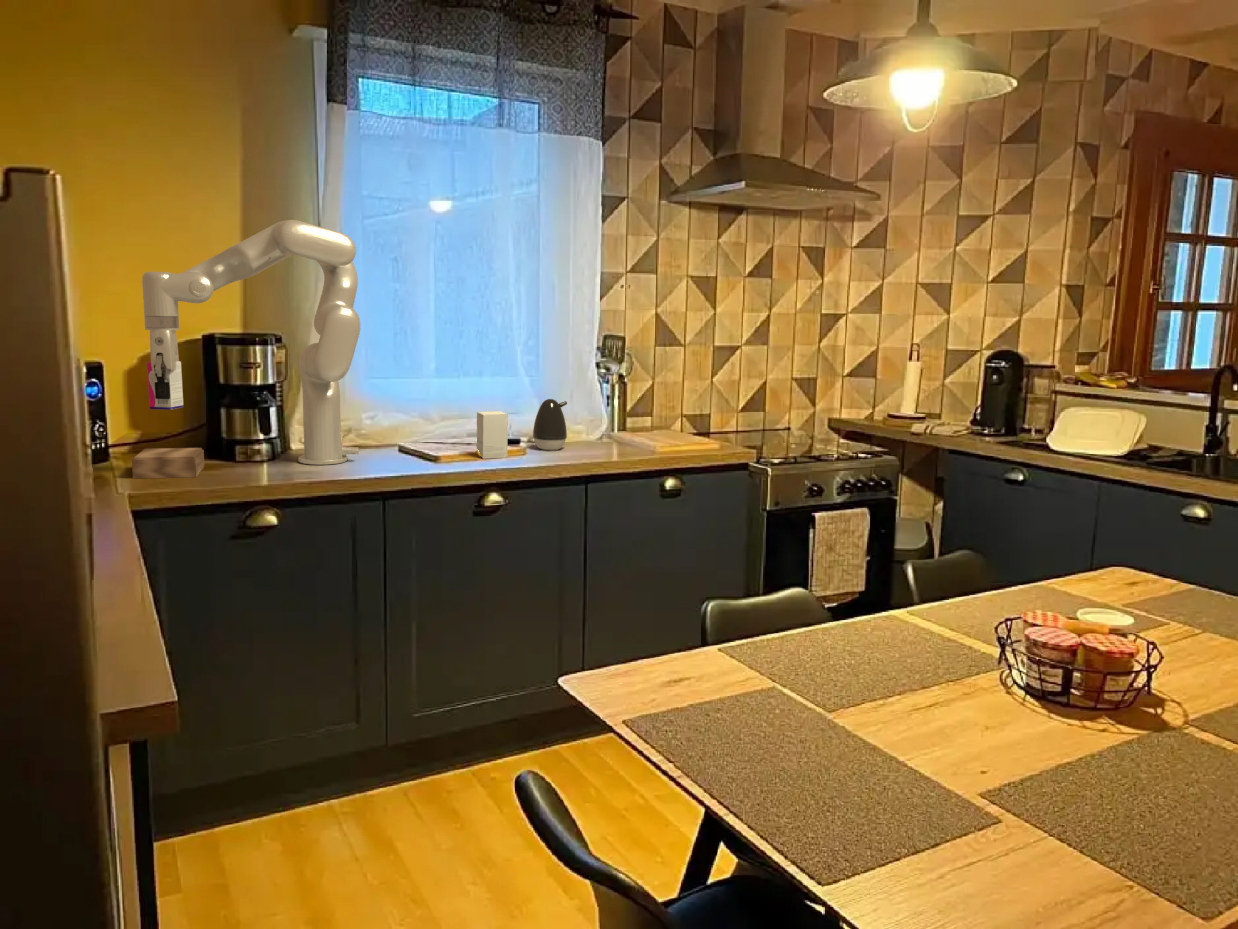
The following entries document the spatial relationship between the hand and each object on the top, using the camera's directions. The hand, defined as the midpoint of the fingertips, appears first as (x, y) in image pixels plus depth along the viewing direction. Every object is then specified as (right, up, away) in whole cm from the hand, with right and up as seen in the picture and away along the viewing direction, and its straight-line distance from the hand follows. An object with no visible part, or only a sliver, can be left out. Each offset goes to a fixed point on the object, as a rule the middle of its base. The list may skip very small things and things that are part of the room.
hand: (165, 396), depth 236 cm
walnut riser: (-1, -19, +3) cm, 19 cm away
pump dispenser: (+90, -12, +55) cm, 106 cm away
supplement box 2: (+75, -15, +39) cm, 86 cm away
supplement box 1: (0, -3, +1) cm, 3 cm away
